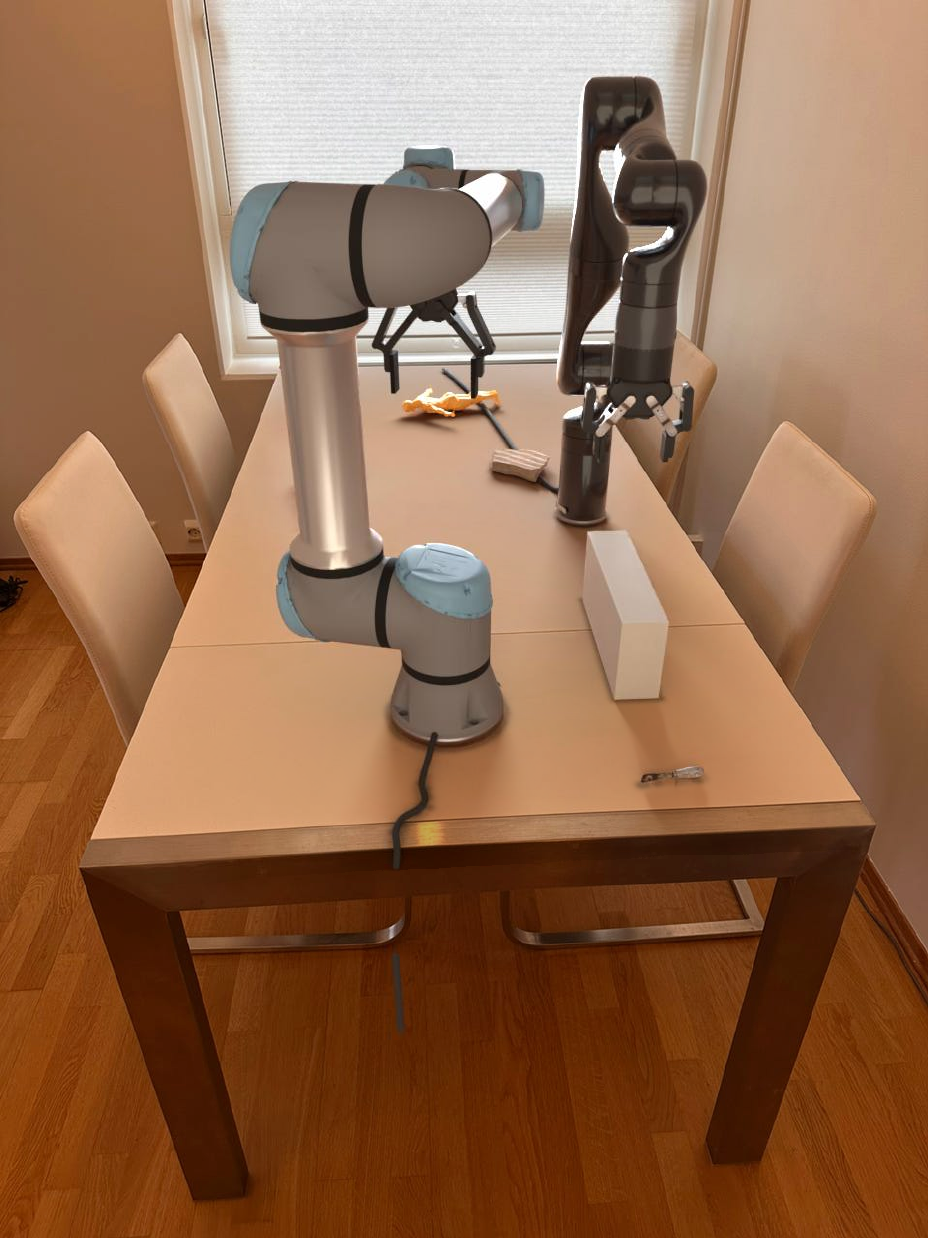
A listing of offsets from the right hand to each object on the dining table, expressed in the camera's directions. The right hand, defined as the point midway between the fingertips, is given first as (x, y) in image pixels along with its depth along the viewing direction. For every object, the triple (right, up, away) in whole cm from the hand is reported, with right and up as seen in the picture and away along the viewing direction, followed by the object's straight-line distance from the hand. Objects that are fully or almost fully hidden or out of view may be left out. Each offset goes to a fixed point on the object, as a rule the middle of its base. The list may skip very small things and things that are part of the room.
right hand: (631, 460), depth 120 cm
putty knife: (+3, -41, -11) cm, 43 cm away
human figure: (-26, +32, +106) cm, 113 cm away
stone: (-11, +11, +72) cm, 74 cm away
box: (+1, -25, +15) cm, 29 cm away
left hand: (-28, +16, +29) cm, 43 cm away
